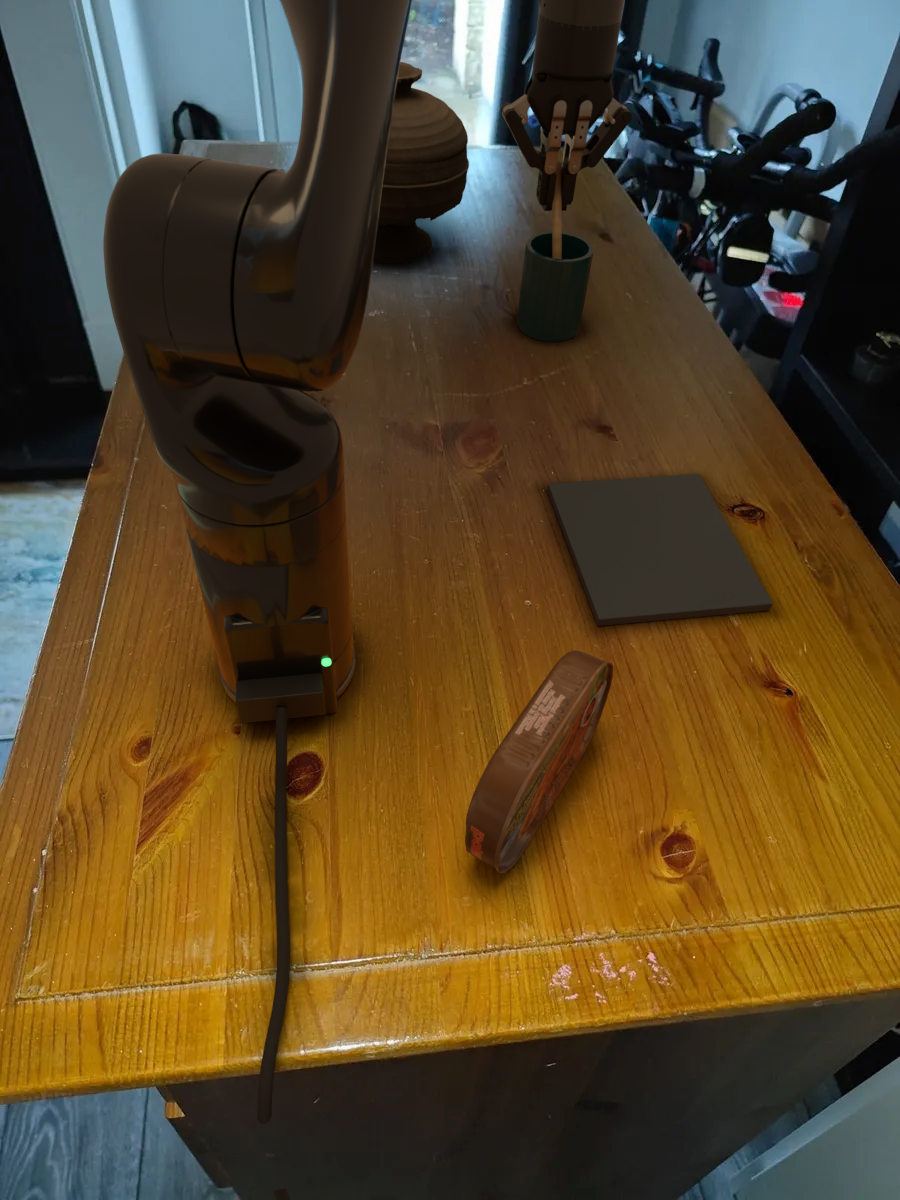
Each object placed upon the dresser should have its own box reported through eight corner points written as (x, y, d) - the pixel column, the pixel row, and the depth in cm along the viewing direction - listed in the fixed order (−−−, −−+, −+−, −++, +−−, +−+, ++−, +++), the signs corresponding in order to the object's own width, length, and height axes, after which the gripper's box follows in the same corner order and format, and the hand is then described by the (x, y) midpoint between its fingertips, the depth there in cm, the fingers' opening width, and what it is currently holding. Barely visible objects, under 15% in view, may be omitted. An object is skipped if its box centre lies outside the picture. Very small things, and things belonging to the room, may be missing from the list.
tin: (496, 899, 49) (510, 828, 43) (449, 870, 50) (457, 797, 44) (605, 720, 58) (630, 640, 52) (564, 699, 59) (584, 618, 53)
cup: (586, 340, 92) (601, 260, 86) (524, 343, 91) (534, 262, 85) (570, 309, 97) (583, 230, 90) (510, 311, 96) (519, 231, 89)
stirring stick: (562, 316, 90) (581, 188, 81) (553, 316, 90) (571, 188, 81) (544, 282, 96) (560, 158, 86) (535, 282, 95) (551, 158, 86)
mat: (769, 610, 66) (773, 603, 65) (597, 626, 64) (599, 619, 63) (696, 480, 76) (699, 473, 76) (546, 490, 74) (548, 483, 74)
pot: (495, 232, 108) (499, 55, 93) (417, 297, 99) (407, 112, 83) (381, 199, 114) (367, 28, 99) (298, 257, 105) (268, 79, 89)
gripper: (516, 20, 72) (497, 224, 85) (665, 23, 74) (625, 222, 87) (498, -1, 77) (483, 194, 90) (638, 2, 79) (604, 193, 92)
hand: (553, 207), depth 88 cm, fingers closed on stirring stick, 1 cm apart
